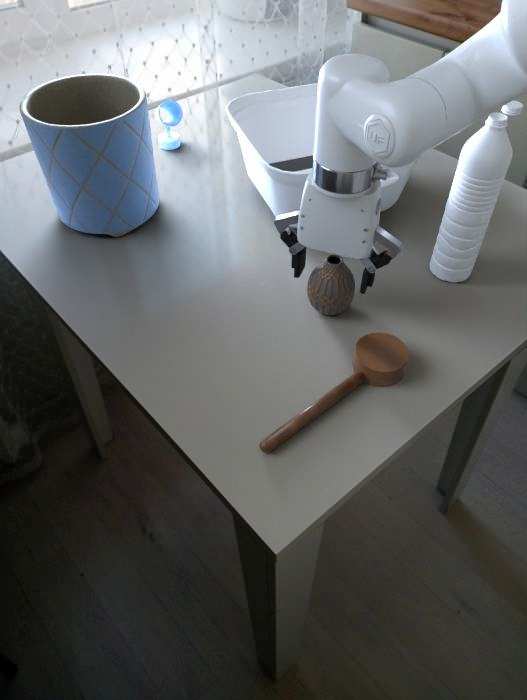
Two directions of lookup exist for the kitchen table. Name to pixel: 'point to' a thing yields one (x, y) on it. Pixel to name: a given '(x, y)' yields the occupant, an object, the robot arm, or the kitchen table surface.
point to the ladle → (352, 380)
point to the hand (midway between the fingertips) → (331, 280)
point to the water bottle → (473, 197)
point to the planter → (94, 151)
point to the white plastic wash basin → (289, 146)
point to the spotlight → (169, 124)
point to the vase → (331, 286)
